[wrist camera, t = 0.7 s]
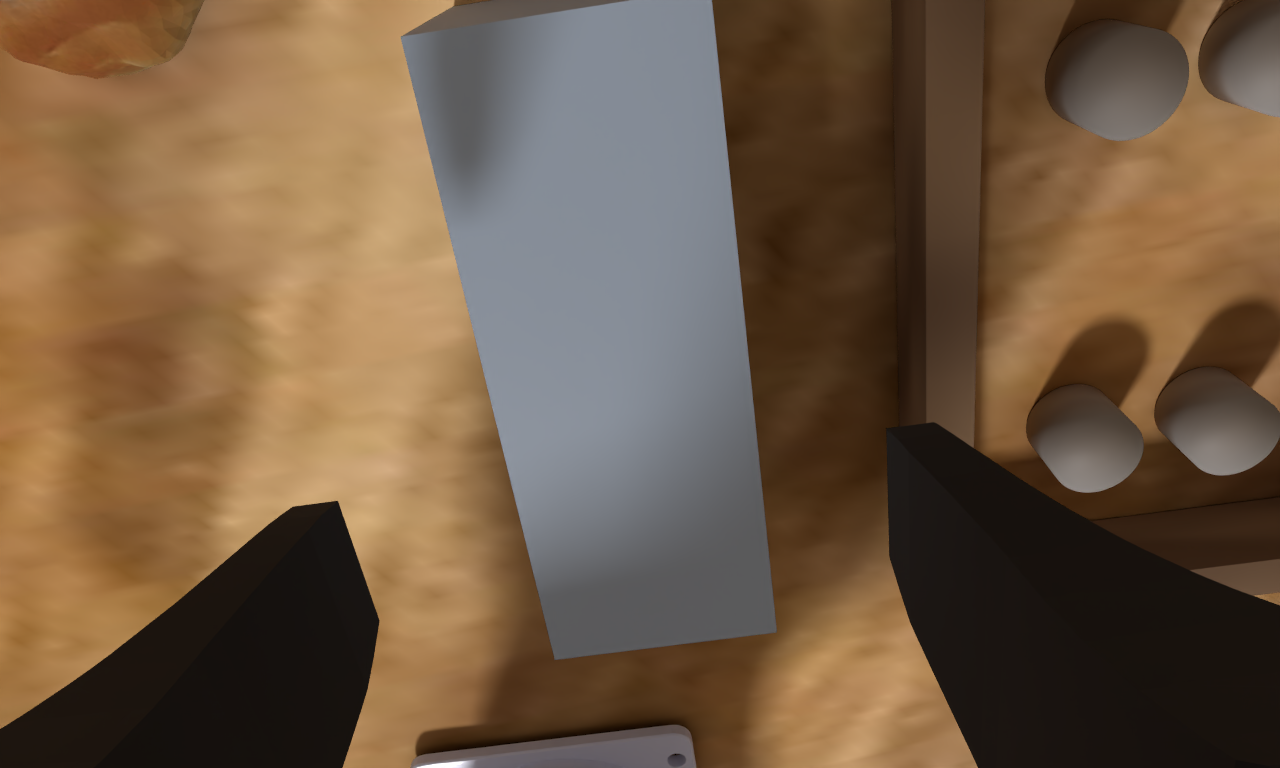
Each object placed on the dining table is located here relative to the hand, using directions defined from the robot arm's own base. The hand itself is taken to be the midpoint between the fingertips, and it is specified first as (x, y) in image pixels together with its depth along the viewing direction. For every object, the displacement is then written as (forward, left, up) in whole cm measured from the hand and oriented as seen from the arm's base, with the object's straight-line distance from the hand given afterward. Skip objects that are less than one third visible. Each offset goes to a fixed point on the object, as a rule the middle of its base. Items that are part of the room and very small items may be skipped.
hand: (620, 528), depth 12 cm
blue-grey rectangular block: (0, 0, -9) cm, 9 cm away
